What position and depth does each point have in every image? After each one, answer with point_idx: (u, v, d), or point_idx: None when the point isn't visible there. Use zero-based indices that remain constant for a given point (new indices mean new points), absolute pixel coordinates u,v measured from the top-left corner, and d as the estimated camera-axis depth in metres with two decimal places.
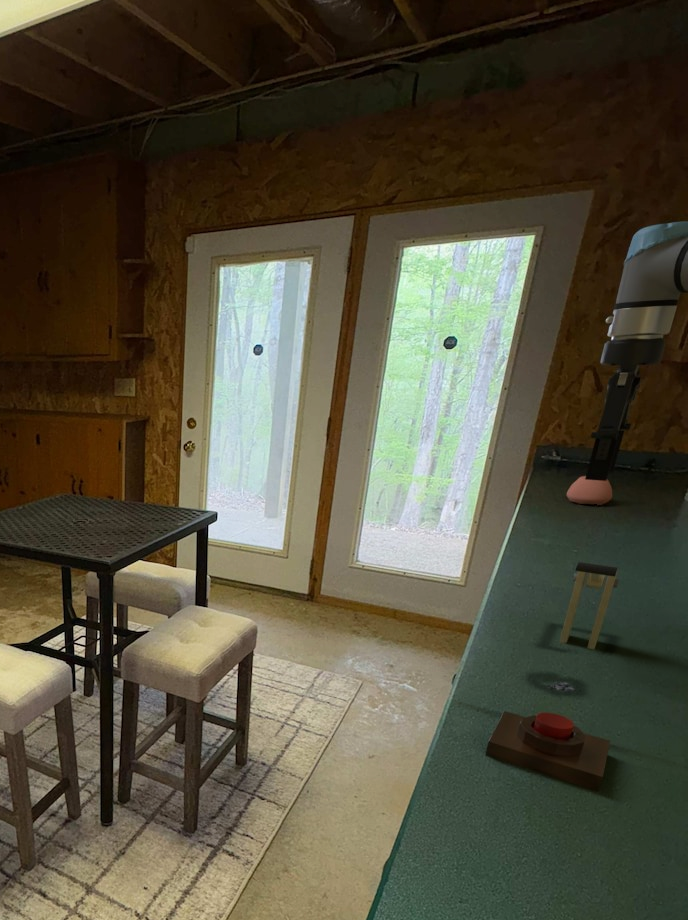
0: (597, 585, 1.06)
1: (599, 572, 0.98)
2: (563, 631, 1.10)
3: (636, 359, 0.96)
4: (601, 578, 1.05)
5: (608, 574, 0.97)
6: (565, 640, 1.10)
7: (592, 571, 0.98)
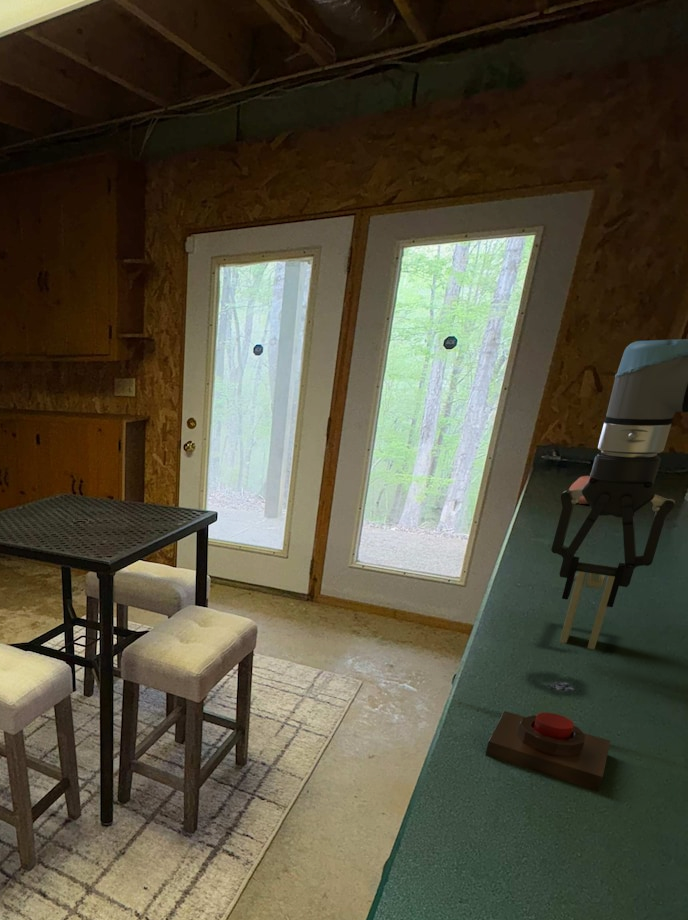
0: (597, 585, 1.06)
1: (599, 572, 0.98)
2: (563, 631, 1.10)
3: None
4: (601, 578, 1.05)
5: (608, 574, 0.97)
6: (565, 640, 1.10)
7: (592, 571, 0.98)
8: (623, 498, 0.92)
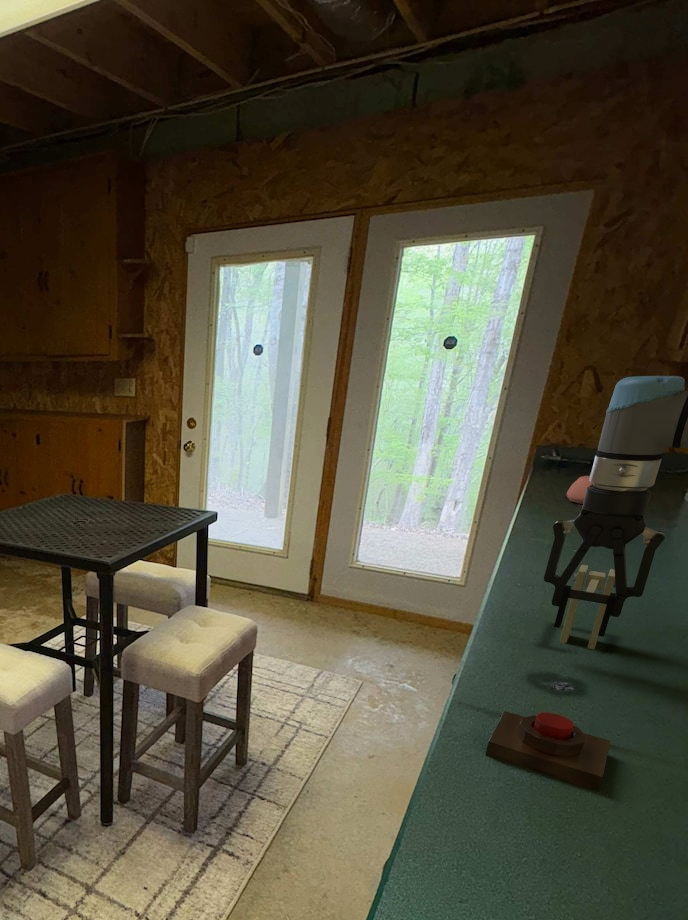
0: (596, 588, 1.06)
1: (591, 601, 0.99)
2: (563, 631, 1.10)
3: None
4: (600, 581, 1.05)
5: (600, 602, 0.98)
6: (565, 640, 1.10)
7: (584, 599, 0.99)
8: (614, 530, 0.93)
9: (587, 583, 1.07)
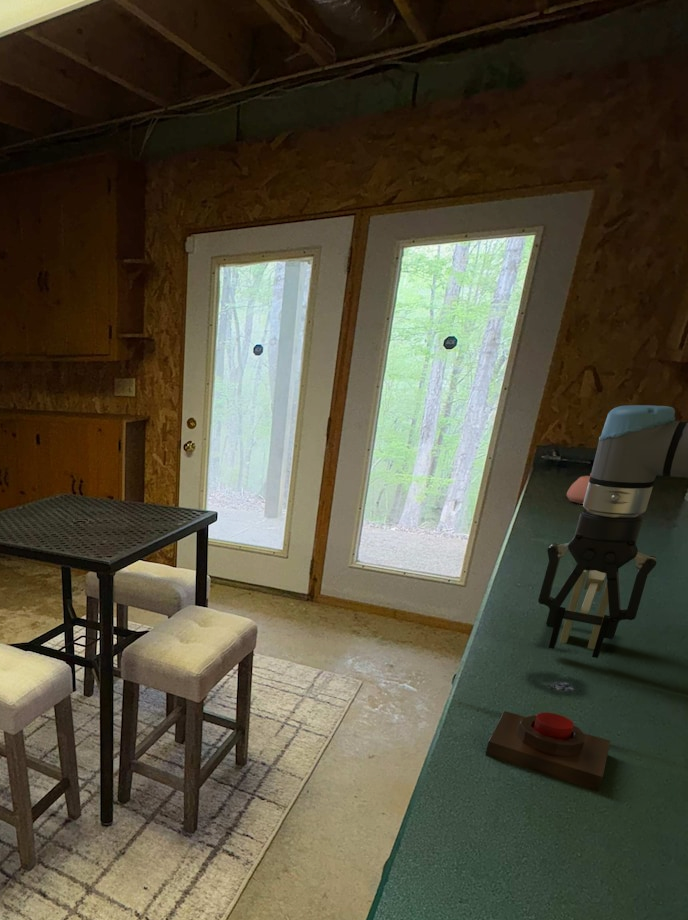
0: (596, 590, 1.06)
1: (585, 622, 1.01)
2: (563, 631, 1.10)
3: None
4: (599, 584, 1.05)
5: (594, 624, 1.00)
6: (565, 640, 1.10)
7: None
8: (607, 555, 0.95)
9: (586, 585, 1.07)
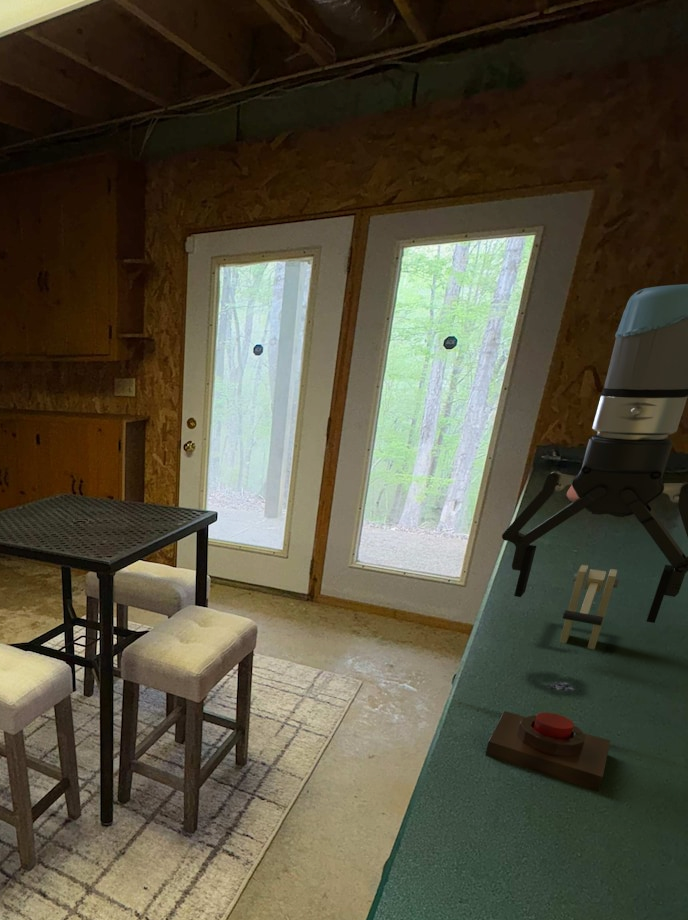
0: (596, 590, 1.06)
1: (585, 622, 1.01)
2: (563, 631, 1.10)
3: None
4: (599, 584, 1.05)
5: (594, 624, 1.00)
6: (565, 640, 1.10)
7: None
8: (623, 494, 0.72)
9: (586, 585, 1.07)
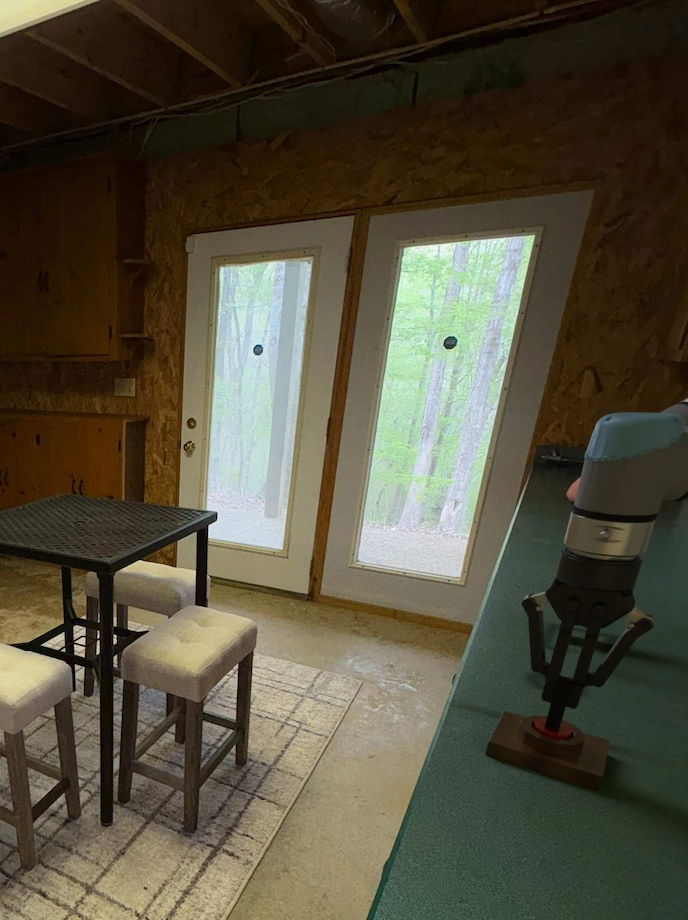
0: None
1: None
2: None
3: None
4: None
5: None
6: None
7: None
8: (596, 607, 0.73)
9: None
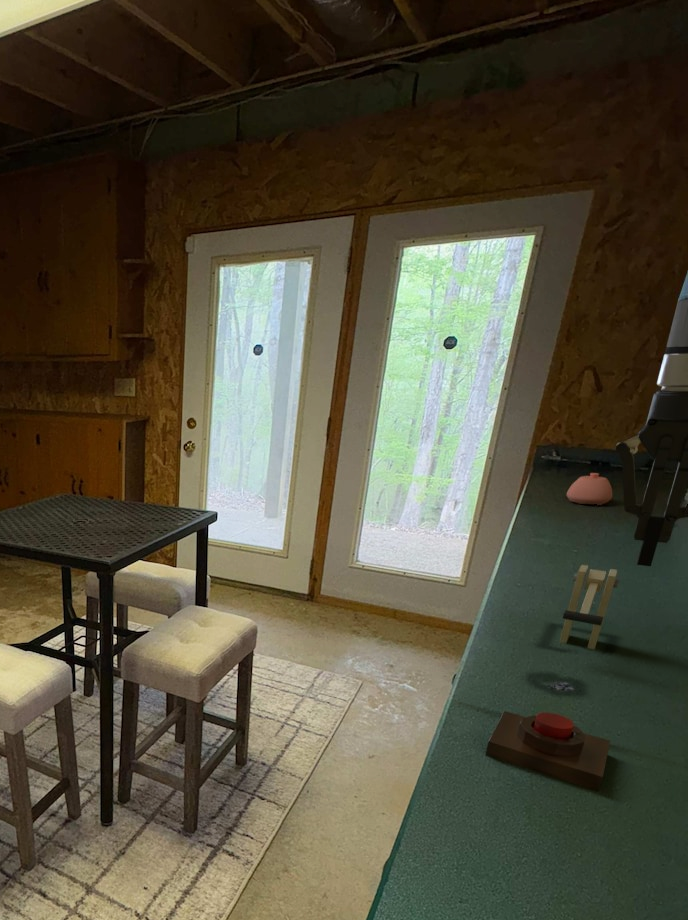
0: (596, 590, 1.06)
1: (585, 622, 1.01)
2: (563, 631, 1.10)
3: None
4: (599, 584, 1.05)
5: (594, 624, 1.00)
6: (565, 640, 1.10)
7: None
8: None
9: (586, 585, 1.07)
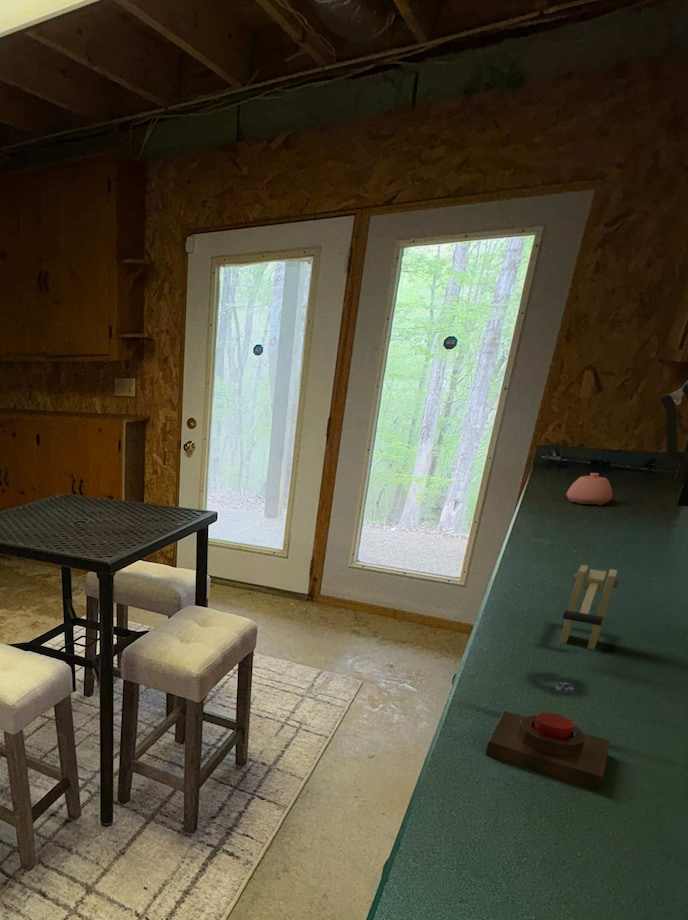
0: (596, 590, 1.06)
1: (585, 622, 1.01)
2: (563, 631, 1.10)
3: None
4: (599, 584, 1.05)
5: (594, 624, 1.00)
6: (565, 640, 1.10)
7: None
8: None
9: (586, 585, 1.07)
